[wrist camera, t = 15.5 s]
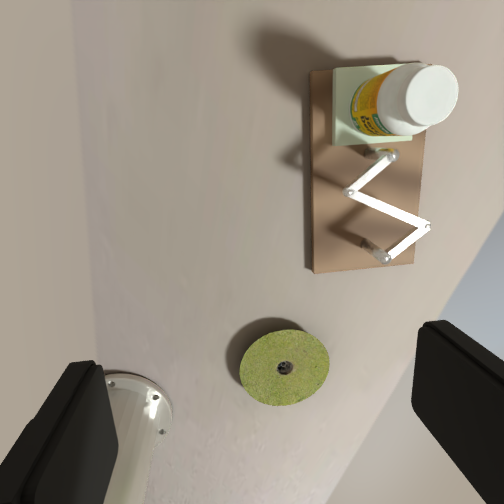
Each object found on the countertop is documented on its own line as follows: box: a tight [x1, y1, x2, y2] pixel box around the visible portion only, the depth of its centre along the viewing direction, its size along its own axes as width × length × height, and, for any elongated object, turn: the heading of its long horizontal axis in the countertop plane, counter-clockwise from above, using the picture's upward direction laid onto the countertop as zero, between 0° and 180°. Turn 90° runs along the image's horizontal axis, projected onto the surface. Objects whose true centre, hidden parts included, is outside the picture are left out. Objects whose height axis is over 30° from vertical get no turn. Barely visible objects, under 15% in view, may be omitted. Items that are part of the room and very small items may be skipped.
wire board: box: [310, 64, 432, 274], centre depth 37 cm, size 21×12×1 cm, turn 4°
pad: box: [332, 64, 412, 146], centre depth 34 cm, size 7×8×1 cm
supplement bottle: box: [349, 62, 458, 136], centre depth 29 cm, size 5×5×10 cm
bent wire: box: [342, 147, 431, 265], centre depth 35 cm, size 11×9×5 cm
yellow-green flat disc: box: [240, 329, 329, 406], centre depth 43 cm, size 11×11×2 cm
